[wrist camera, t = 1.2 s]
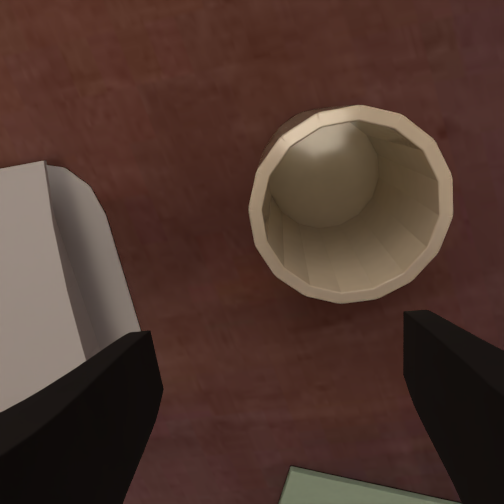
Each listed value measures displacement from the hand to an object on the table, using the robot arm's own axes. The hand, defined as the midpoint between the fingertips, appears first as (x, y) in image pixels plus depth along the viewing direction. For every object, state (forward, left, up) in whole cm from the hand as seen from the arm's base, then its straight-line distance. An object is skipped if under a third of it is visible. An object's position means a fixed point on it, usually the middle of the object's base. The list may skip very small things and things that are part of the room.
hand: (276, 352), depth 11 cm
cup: (-1, -4, -10) cm, 11 cm away
